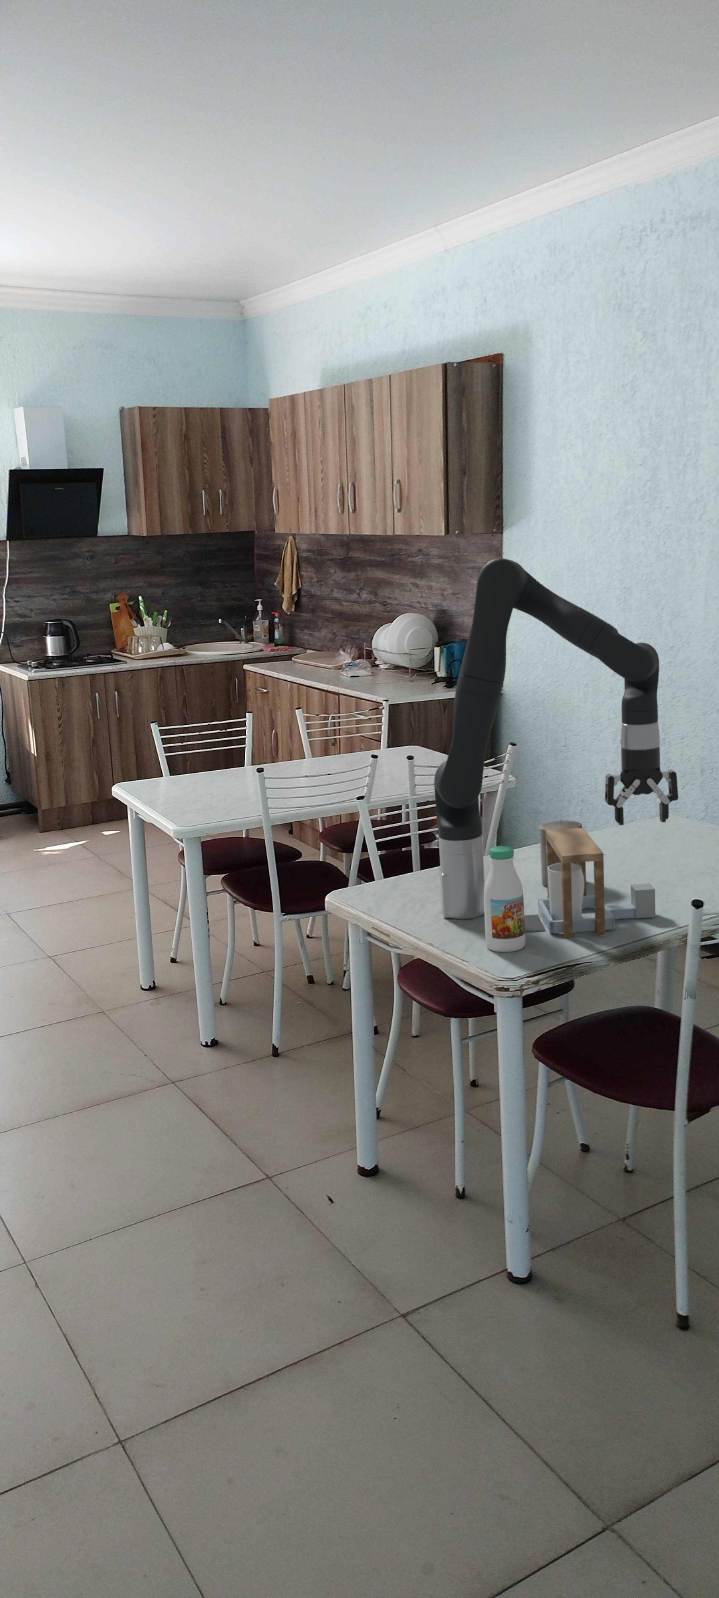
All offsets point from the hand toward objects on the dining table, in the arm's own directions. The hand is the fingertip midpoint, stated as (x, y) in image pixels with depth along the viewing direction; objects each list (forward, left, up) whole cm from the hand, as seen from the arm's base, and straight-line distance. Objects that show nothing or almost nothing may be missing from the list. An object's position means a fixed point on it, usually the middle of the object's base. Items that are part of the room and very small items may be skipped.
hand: (641, 822), depth 236 cm
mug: (-15, 0, -20) cm, 25 cm away
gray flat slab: (-24, 0, -20) cm, 31 cm away
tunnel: (-14, 0, -20) cm, 24 cm away
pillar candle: (-12, +26, -20) cm, 35 cm away
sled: (-9, 0, -19) cm, 22 cm away
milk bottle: (-30, -12, -20) cm, 38 cm away
